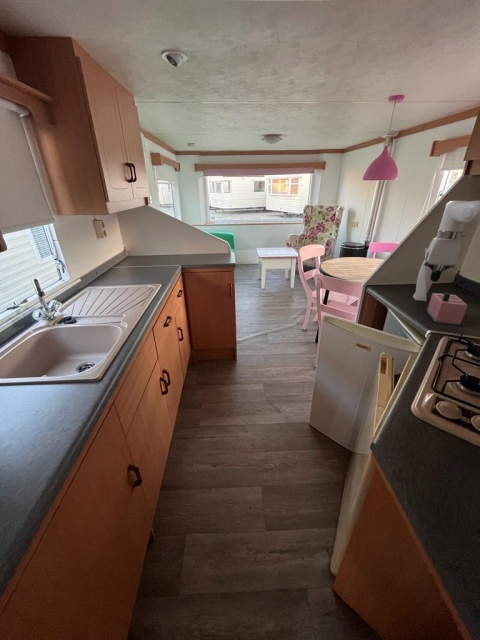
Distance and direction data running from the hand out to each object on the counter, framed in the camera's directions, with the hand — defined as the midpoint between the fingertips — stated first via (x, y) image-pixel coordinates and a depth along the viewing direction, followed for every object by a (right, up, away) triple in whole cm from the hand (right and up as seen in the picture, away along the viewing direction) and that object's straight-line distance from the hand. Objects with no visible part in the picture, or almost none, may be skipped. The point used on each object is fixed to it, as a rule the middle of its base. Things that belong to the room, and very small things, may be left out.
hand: (433, 280), depth 111 cm
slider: (+6, -8, +1) cm, 10 cm away
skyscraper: (+14, -6, +29) cm, 33 cm away
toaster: (+9, -15, +7) cm, 19 cm away
